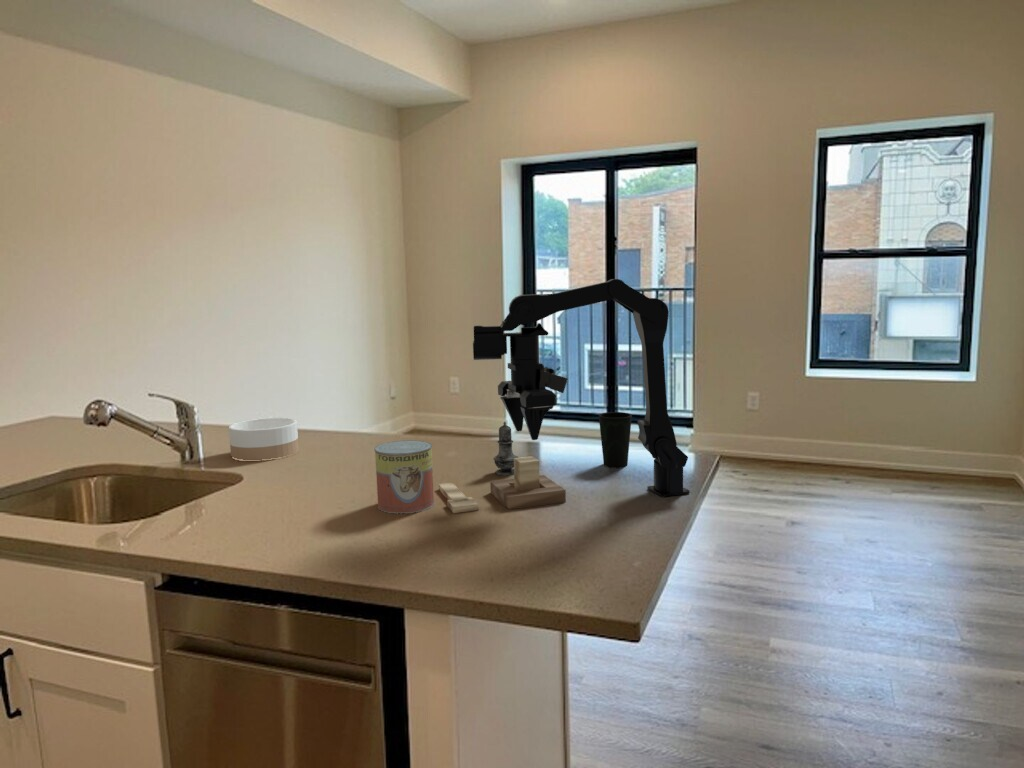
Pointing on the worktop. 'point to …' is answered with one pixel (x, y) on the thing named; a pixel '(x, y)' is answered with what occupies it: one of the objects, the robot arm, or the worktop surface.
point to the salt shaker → (505, 452)
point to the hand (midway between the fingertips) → (526, 435)
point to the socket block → (527, 493)
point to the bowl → (263, 438)
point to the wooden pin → (526, 473)
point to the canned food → (404, 476)
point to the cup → (615, 438)
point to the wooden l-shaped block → (457, 499)
